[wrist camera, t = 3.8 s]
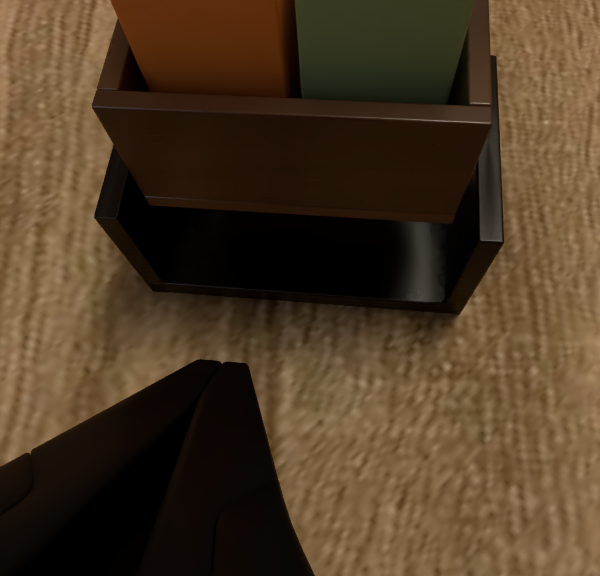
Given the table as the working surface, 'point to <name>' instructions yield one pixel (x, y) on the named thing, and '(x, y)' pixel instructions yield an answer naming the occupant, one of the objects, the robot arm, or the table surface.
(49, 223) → the table surface
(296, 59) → the orange carton
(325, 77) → the green carton
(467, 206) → the bin frame
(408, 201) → the bin
